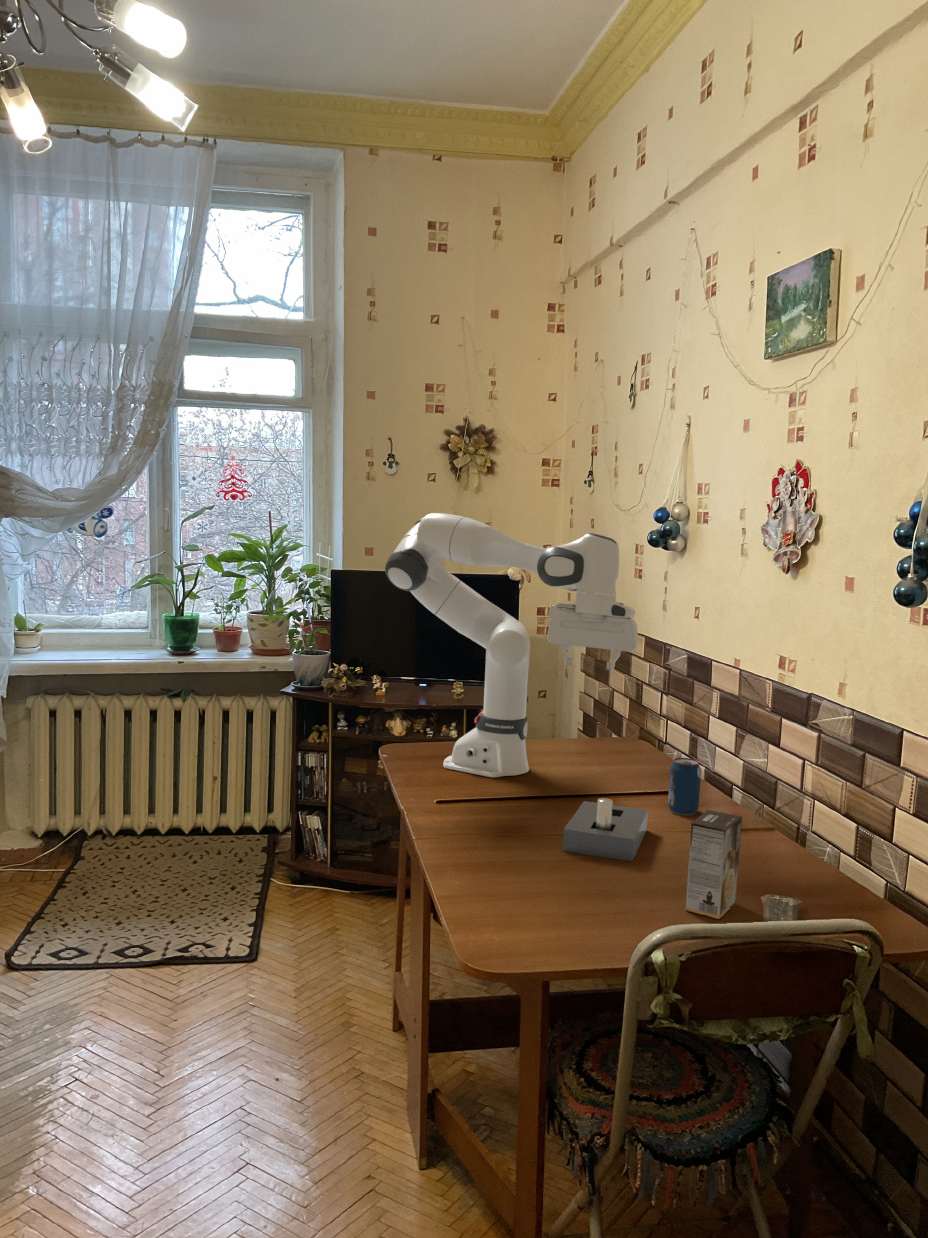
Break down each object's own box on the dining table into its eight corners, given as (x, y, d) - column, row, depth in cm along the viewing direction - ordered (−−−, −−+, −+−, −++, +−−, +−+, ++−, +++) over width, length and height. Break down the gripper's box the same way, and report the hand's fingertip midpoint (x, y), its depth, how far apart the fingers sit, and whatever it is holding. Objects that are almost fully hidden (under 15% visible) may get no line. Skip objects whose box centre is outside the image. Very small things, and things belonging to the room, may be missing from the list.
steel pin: (593, 849, 192) (596, 801, 190) (596, 844, 194) (599, 797, 193) (608, 851, 191) (611, 803, 189) (610, 846, 193) (613, 799, 192)
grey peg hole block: (562, 850, 190) (564, 829, 190) (582, 820, 209) (583, 801, 208) (632, 861, 186) (634, 839, 185) (646, 830, 205) (647, 810, 204)
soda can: (703, 812, 219) (707, 761, 217) (688, 818, 214) (692, 766, 212) (677, 804, 224) (680, 755, 222) (661, 810, 218) (665, 760, 217)
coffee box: (701, 894, 171) (707, 808, 169) (736, 903, 168) (743, 816, 166) (684, 911, 163) (690, 821, 162) (720, 921, 160) (727, 829, 158)
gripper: (546, 602, 213) (540, 663, 213) (637, 610, 206) (631, 673, 206) (553, 602, 219) (547, 661, 219) (642, 610, 212) (636, 672, 212)
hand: (589, 667), depth 213 cm, fingers open, 8 cm apart
